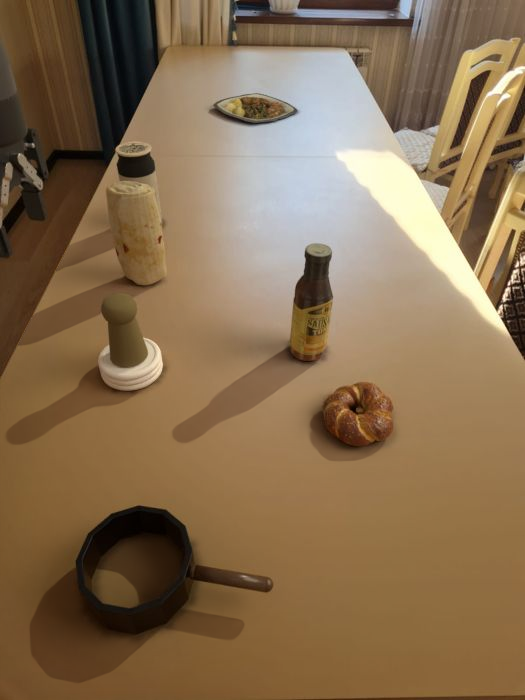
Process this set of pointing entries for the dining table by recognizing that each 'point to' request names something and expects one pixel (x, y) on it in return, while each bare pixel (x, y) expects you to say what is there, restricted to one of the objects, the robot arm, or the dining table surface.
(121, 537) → the pan
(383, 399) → the pretzel
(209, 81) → the dining table surface
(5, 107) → the robot arm
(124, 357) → the olive green pawn
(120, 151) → the travel mug
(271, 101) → the meal
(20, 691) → the dining table surface
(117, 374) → the coaster
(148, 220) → the food model
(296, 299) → the sauce bottle
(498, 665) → the dining table surface
